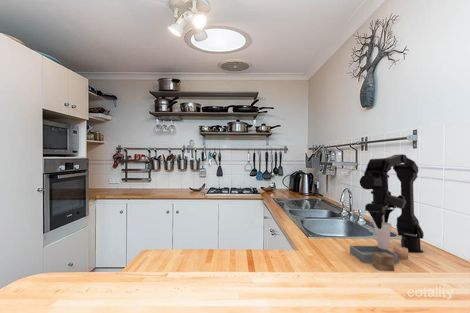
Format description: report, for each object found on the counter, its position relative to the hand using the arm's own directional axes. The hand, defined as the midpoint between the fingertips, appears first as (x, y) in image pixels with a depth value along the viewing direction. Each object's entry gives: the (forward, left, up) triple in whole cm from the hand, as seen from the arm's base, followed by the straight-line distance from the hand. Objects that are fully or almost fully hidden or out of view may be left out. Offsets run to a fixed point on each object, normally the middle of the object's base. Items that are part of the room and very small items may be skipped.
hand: (382, 227), depth 101 cm
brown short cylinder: (-9, -4, -13) cm, 16 cm away
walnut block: (+5, +9, -13) cm, 17 cm away
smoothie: (0, 0, -8) cm, 8 cm away
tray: (+3, -3, -13) cm, 14 cm away
